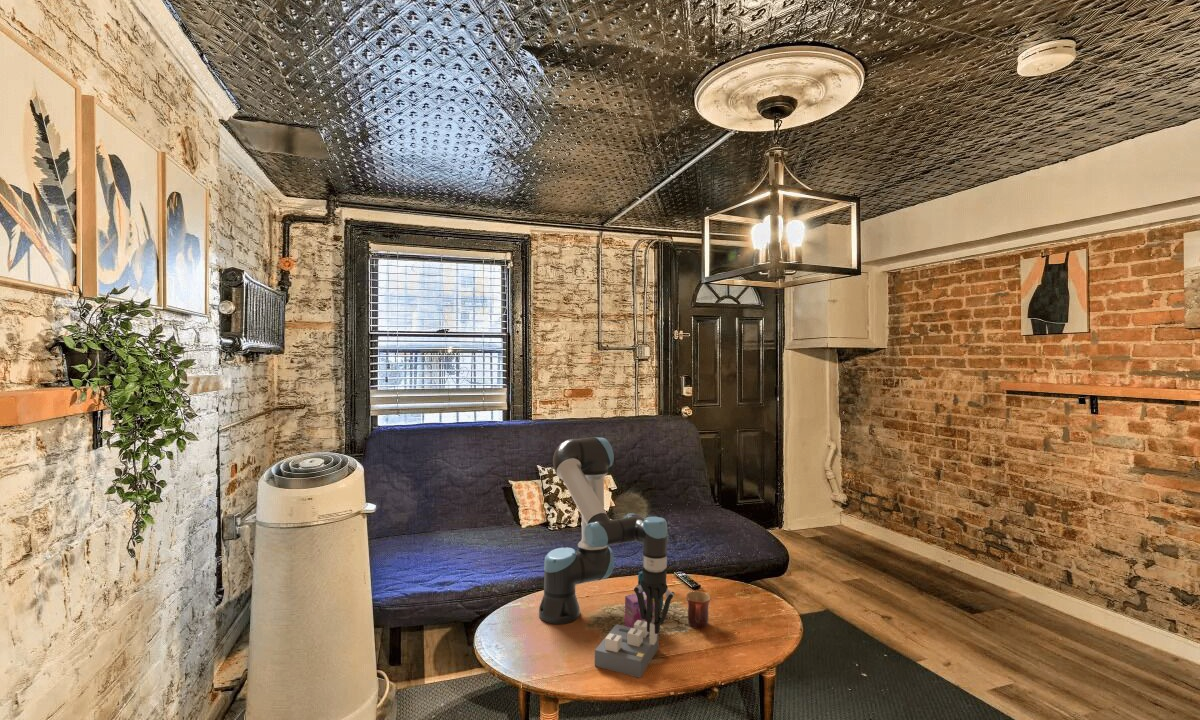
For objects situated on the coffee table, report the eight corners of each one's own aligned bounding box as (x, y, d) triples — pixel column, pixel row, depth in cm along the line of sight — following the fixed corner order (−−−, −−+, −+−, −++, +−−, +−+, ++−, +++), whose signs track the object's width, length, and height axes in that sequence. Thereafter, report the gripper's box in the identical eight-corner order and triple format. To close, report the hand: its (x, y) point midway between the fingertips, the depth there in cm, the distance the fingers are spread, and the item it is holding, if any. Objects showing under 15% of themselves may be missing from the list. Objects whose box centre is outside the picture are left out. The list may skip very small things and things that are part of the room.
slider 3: (627, 644, 174) (627, 632, 174) (631, 638, 178) (631, 627, 178) (639, 646, 173) (639, 634, 173) (642, 641, 176) (643, 629, 176)
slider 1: (605, 649, 171) (605, 637, 171) (609, 644, 174) (609, 632, 174) (617, 652, 169) (617, 640, 169) (621, 646, 173) (621, 634, 172)
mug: (686, 617, 203) (686, 590, 203) (710, 620, 202) (710, 592, 201) (684, 633, 192) (685, 604, 191) (710, 636, 190) (710, 607, 190)
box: (632, 636, 190) (633, 602, 189) (624, 628, 195) (624, 595, 194) (657, 629, 194) (658, 596, 194) (649, 622, 199) (649, 589, 199)
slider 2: (633, 635, 180) (633, 623, 180) (637, 630, 183) (637, 618, 183) (645, 637, 178) (645, 626, 178) (648, 632, 182) (648, 621, 182)
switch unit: (594, 665, 171) (594, 649, 171) (616, 638, 188) (616, 623, 187) (640, 677, 165) (640, 660, 165) (658, 648, 182) (658, 633, 181)
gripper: (630, 568, 172) (629, 643, 172) (671, 576, 166) (669, 653, 167) (638, 560, 179) (637, 632, 179) (677, 567, 173) (676, 641, 174)
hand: (653, 642), depth 173 cm, fingers closed
